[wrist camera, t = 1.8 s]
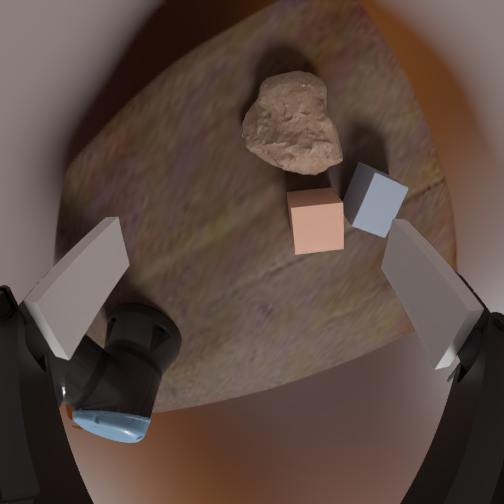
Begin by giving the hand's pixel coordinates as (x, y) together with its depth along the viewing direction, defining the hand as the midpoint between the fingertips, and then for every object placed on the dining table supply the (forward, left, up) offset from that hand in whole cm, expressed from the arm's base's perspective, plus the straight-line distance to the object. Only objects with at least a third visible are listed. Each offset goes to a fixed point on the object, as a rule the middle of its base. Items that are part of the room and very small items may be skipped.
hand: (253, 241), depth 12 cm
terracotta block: (+8, -7, -24) cm, 26 cm away
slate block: (+15, -3, -24) cm, 28 cm away
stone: (+3, +4, -24) cm, 25 cm away
